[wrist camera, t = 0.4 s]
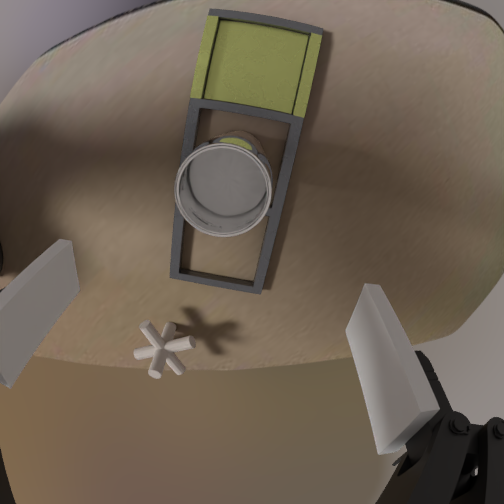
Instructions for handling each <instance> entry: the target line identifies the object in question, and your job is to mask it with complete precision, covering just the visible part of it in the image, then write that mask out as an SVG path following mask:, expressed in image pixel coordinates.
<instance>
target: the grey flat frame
mask: <svg viewBox="0 0 504 504" xmlns="http://www.w3.org/2000/svg"><path fill="white" fill-rule="evenodd" d="M220 20H221V21H220ZM224 20H227V21H224ZM233 21H235V22H233ZM241 22H243V23H241ZM219 23H220V25H219ZM248 23H250V24H248ZM255 24H257V25H255ZM261 25H263V26H261ZM267 26H268V27H267ZM218 27H219V29H218ZM272 27H274V28H272ZM277 28H279V29H277ZM282 29H283V30H282ZM287 30H288V31H287ZM217 31H218V33H217ZM291 31H293V32H291ZM296 32H297V33H296ZM300 33H301V34H300ZM322 33H323V28H320V27H316V26H312V25H308V24H304V23H300V22H296V21H291V20H287V19H282V18H277V17H272V16H266V15H260V14H254V13H247V12H239V11H231V10H221V9H210V10H209V14H208V16H207V20H206V24H205V28H204V33H203V37H202V41H201V46H200V50H199V55H198V59H197V64H196V69H195V74H194V79H193V84H192V89H191V95H190V102H189V108H188V114H187V120H186V126H185V133H184V139H183V146H182V153H181V161H180V166H181V164H182V163H183V162H184V160H185V159H186V158H187V157H188V156H189V155H190V154H191V153H192V151H193V150H194V149H195V143H196V137H197V131H198V125H199V119H200V113H201V108H207V109H214V110H221V111H227V112H234V113H240V114H245V115H251V116H256V117H261V118H267V119H271V120H276V121H281V122H285V123H290V126H289V130H288V135H287V139H286V144H285V148H284V152H283V157H282V161H281V166H280V170H279V174H278V179H277V183H276V187H275V192H274V196H273V201H272V205H269V208H268V210H267V212H266V214H265V216H269V218H268V222H267V226H266V231H265V235H264V239H263V244H262V248H261V252H260V256H259V261H258V265H257V269H256V273H255V278H254V282H251V281H246V280H240V279H234V278H229V277H223V276H218V275H212V274H207V273H202V272H196V271H191V270H186V269H181V259H182V248H183V238H184V228H185V218H184V217H183V216H182V214H181V213H180V211H179V209H178V206H177V204H176V203H175V213H174V224H173V235H172V248H171V263H170V278H174V279H179V280H184V281H189V282H194V283H199V284H205V285H210V286H216V287H221V288H227V289H232V290H238V291H244V292H249V293H255V294H261V291H262V288H263V284H264V280H265V276H266V272H267V268H268V264H269V260H270V256H271V252H272V249H273V245H274V241H275V237H276V233H277V229H278V225H279V221H280V216H281V212H282V208H283V204H284V200H285V196H286V192H287V188H288V184H289V179H290V175H291V171H292V167H293V163H294V158H295V154H296V150H297V146H298V141H299V137H300V133H301V129H302V124H303V120H304V117H305V112H306V108H307V103H308V99H309V95H310V90H311V86H312V81H313V77H314V72H315V67H316V63H317V58H318V54H319V49H320V44H321V39H322ZM304 34H305V35H304ZM216 35H217V38H216ZM308 35H309V40H308ZM215 39H216V42H215ZM307 41H308V44H307ZM214 44H215V46H214ZM306 45H307V49H306ZM213 48H214V51H213ZM305 50H306V53H305ZM212 53H213V55H212ZM304 55H305V58H304ZM211 57H212V60H211ZM303 59H304V63H303ZM210 62H211V65H210ZM302 64H303V67H302ZM209 67H210V69H209ZM301 68H302V72H301ZM208 72H209V74H208ZM300 73H301V76H300ZM207 76H208V79H207ZM299 77H300V81H299ZM206 81H207V84H206ZM298 82H299V85H298ZM205 86H206V89H205ZM297 87H298V90H297ZM296 91H297V94H296ZM204 92H205V95H204ZM295 96H296V99H295ZM203 97H204V99H203ZM206 99H212V100H206ZM214 100H219V101H214ZM294 100H295V103H294ZM221 101H226V102H221ZM228 102H233V103H228ZM234 103H239V104H234ZM240 104H245V105H240ZM246 105H250V106H246ZM293 105H294V108H293ZM251 106H256V107H251ZM257 107H261V108H257ZM262 108H266V109H262ZM267 109H271V110H267ZM292 109H293V112H292ZM272 110H276V111H272ZM277 111H280V112H277ZM281 112H285V113H281ZM286 113H289V114H286ZM290 114H292V115H290Z"/></svg>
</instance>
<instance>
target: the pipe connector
mask: <svg viewBox="0 0 504 504" xmlns="http://www.w3.org/2000/svg"><path fill="white" fill-rule="evenodd" d="M139 328H140V329H141V331H142V332H143V333H144V335H145V336H146V337H147V339H148V340H149V341H150V342H151V344H152V345H149V346H145V347H140V348H136V349H135V350H134V356H135V358H136V359H137V360H140V359H145V358H150V357H153V360H152V363H151V366H150V368H149V371H148V373H149V375H150V376H151V377H153V378H160V377H161V375H162V372H163V369H164V365H165V362H167V363H168V365H169V366H170V367H171V368H172V369H173V371H174V372H175V373H176V374H177V375H180V374H182V373H184V372H185V370H186V367H185V366H184V365H183V364H182V362H181V361H180V360H179V359H178V357H177V356H176V355H175V354H174V352H178V351H183V350H187V349H191V348H195V346H196V342H195V339H194V337H193V336H186V337H183V338H178V339H174V340H173V337H174V334H175V331H176V325H175V324H174V323H172V322H167V323H166V324H165V327H164V329H163V332H162V335H160V334H159V333H158V331H157V330H156V329H155V327H154V326H153V325H152V323H151V322H150V321H149V320H145V321H143V322H142V323H141V324H140V325H139Z"/></svg>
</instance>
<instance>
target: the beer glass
mask: <svg viewBox="0 0 504 504" xmlns="http://www.w3.org/2000/svg"><path fill="white" fill-rule="evenodd" d="M272 184H273V178H272V169H271V165H270V162H269V160H268V157H267V155H266V154H265V152H264V151H263V148H262V145H261V143H260V142H259V141H258V139H257V138H256V137H254V136H253V135H252V134H250V133H247V132H244V131H230V132H227V133H225V134H222V135H218V136H215V137H212V138H210V139H208V140H206V141H204V142H203V143H201V144H200V145H199V146H198V147H196V148H195V149H194V150H193V151H192V153H191V154H190V155H189V156H188V157H187V158H186V159H185V160H184V162H183V163H182V164H181V166H180V168H179V170H178V172H177V175H176V178H175V183H174V195H175V200H176V204H177V206H178V209H179V211H180V213H181V214H182V216H183V217H184V218H185V220H186V221H187V222H188V223H189V224H190V225H192V226H193V227H194V228H196V229H197V230H199V231H201V232H203V233H205V234H208V235H211V236H216V237H232V236H237V235H240V234H243V233H245V232H247V231H249V230H250V229H252V228H253V227H255V226H256V225H257V224H258V223H259V222H260V221H261V220H262V218H263V217H264V216H265V214H266V212H267V210H268V208H269V205H270V202H271V196H272Z"/></svg>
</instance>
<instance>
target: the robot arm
mask: <svg viewBox="0 0 504 504" xmlns="http://www.w3.org/2000/svg"><path fill="white" fill-rule="evenodd" d="M2 264H3V256H2V249H1V245H0V271H1V268H2ZM79 292H80V286H79V281H78V276H77V270H76V265H75V259H74V252H73V245H72V241H70V240H64V239H59V240H57V241H56V242H55V243H54V244H53V245H52V246H50V247H49V248H48V249H47V250H46V251H44V252H43V253H42V254H41V255H40V256H39V257H38V258H36V259H35V260H34V261H33V262H32V263H31V264H30V265H29V266H28V267H26V268H25V269H24V270H23V271H22V272H21V273H20V274H19V275H18V276H17V277H16V278H15V279H14V280H13V281H12V282H11V283H10V284H9V285H8V286H6V287H5V288H3V289H1V290H0V383H1V384H3V385H5V386H7V387H9V388H11V387H12V385H13V384H14V382H15V381H16V379H17V378H18V376H19V375H20V373H21V372H22V370H23V368H24V367H25V365H26V364H27V362H28V361H29V359H30V358H31V356H32V355H33V353H34V352H35V350H36V349H37V348H38V346H39V345H40V343H41V342H42V340H43V339H44V338H45V336H46V335H47V333H48V332H49V331H50V329H51V328H52V327H53V325H54V324H55V323H56V321H57V320H58V319H59V317H60V316H61V315H62V313H63V312H64V311H65V309H66V308H67V307H68V305H69V304H70V303H71V302H72V300H73V299H74V298H75V297H76V295H77V294H78V293H79ZM345 331H346V335H347V338H348V341H349V344H350V348H351V351H352V355H353V358H354V362H355V365H356V369H357V372H358V376H359V379H360V383H361V387H362V390H363V394H364V398H365V402H366V406H367V410H368V413H369V418H370V422H371V425H372V429H373V434H374V439H375V443H376V447H377V451H378V454H386V453H393V452H397V451H398V450H399V449H400V448H401V447H402V446H404V445H406V448H407V452H406V453H404V454H403V455H402V456H401V457H400V458H398V459H397V460H396V461H395V462H394V463H393V464H392V465H393V466H395V465H396V464H398V463H399V464H398V466H397V468H396V470H395V472H394V473H393V475H392V477H391V479H390V481H389V482H388V484H387V486H386V487H385V489H384V491H383V493H382V494H381V496H380V497H379V499H378V500H377V502H376V503H375V504H504V420H503V419H501V418H499V417H493V418H492V419H490V420H489V421H488V422H487V423H486V424H485V425H476V424H470V422H469V420H468V419H467V417H466V416H464V415H463V414H461V413H459V412H456V411H453V410H452V408H451V406H450V403H449V401H448V399H447V397H446V395H445V392H444V390H443V388H442V386H441V383H440V382H439V381H438V377H437V375H436V373H435V372H434V369H433V367H432V365H431V363H430V361H429V359H428V358H427V357H426V356H425V355H424V354H423V353H422V352H421V351H414V349H413V347H412V345H411V343H410V341H409V339H408V337H407V335H406V333H405V331H404V329H403V327H402V325H401V323H400V321H399V319H398V317H397V316H396V314H395V312H394V310H393V308H392V306H391V304H390V302H389V301H388V299H387V297H386V295H385V293H384V291H383V290H382V288H381V286H380V285H376V284H368V283H365V284H364V286H363V289H362V291H361V294H360V297H359V299H358V302H357V304H356V307H355V309H354V311H353V314H352V316H351V319H350V321H349V323H348V326H347V328H346V330H345ZM476 468H478V474H477V475H476V476H475V469H476ZM0 504H16V503H15V500H14V497H13V494H12V491H11V488H10V485H9V481H8V477H7V474H6V470H5V466H4V462H3V458H2V453H1V449H0Z"/></svg>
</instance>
